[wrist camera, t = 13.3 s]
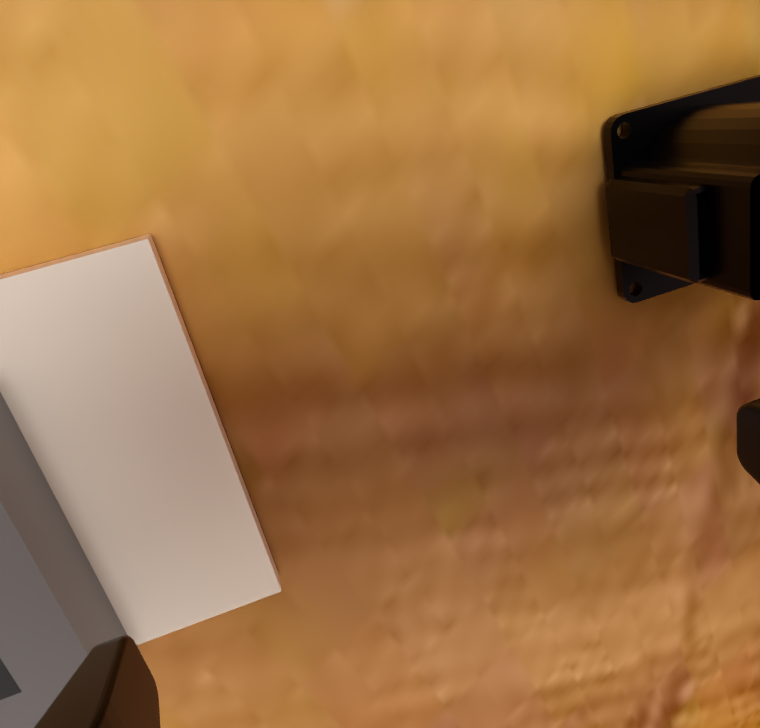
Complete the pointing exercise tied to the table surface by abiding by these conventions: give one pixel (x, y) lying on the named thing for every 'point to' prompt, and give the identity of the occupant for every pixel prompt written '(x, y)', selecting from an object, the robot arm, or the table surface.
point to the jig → (109, 473)
